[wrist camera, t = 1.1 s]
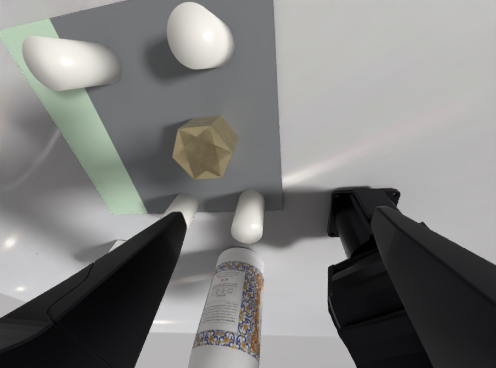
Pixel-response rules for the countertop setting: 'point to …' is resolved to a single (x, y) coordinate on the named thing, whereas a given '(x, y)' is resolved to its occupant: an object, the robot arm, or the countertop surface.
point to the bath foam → (231, 313)
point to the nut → (205, 147)
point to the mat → (166, 104)
